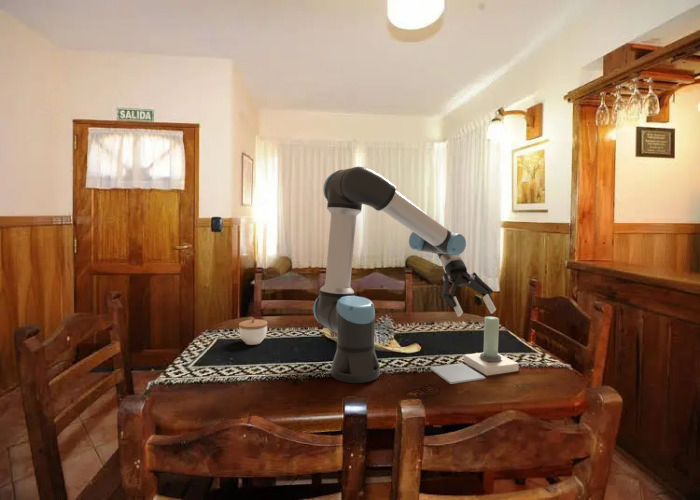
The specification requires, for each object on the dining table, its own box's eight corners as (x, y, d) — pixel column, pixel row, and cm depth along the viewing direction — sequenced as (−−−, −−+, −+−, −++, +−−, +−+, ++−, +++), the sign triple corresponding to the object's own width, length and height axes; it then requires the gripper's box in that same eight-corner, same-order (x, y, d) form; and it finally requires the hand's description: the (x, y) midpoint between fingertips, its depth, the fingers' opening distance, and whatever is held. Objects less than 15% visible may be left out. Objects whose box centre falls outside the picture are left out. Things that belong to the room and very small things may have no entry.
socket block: (486, 375, 119) (486, 367, 119) (463, 362, 131) (463, 354, 130) (518, 371, 123) (518, 363, 123) (493, 358, 134) (493, 351, 134)
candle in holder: (488, 370, 123) (489, 321, 122) (475, 363, 129) (477, 316, 128) (504, 368, 125) (506, 319, 124) (491, 361, 131) (493, 315, 130)
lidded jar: (271, 338, 156) (270, 315, 155) (262, 347, 145) (261, 322, 144) (245, 337, 157) (244, 315, 156) (234, 346, 146) (234, 322, 145)
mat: (450, 384, 113) (450, 382, 113) (430, 369, 124) (430, 367, 124) (485, 379, 117) (485, 377, 117) (462, 364, 128) (462, 363, 128)
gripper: (476, 269, 154) (501, 315, 141) (420, 272, 146) (441, 321, 133) (485, 257, 148) (512, 304, 135) (428, 259, 140) (450, 310, 127)
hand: (477, 313), depth 134 cm, fingers open, 13 cm apart
